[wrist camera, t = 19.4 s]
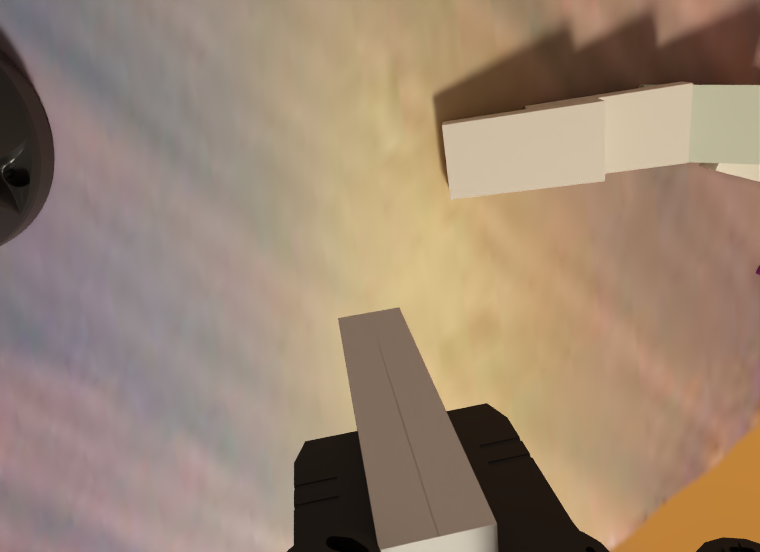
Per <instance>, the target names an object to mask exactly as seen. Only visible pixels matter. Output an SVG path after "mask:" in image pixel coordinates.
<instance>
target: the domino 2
mask: <svg viewBox="0 0 760 552" xmlns="http://www.w3.org/2000/svg"><path fill="white" fill-rule="evenodd" d="M692 93H693V83H689V82H682V81H681V82H675V83H669V84H662V85H656V86H650V87H643V88H637V89H630V90H624V91H618V92H611V93H605V94H599V95H592V96H586V97H579V98H573V99H567V100H560V101H554V102H548V103H541V104H535V105H528V106H525V109H531V108H537V107H544V106H551V105H557V104H564V103H570V102H577V101H584V100H590V99H597V98H599V99H601V100H604V101H605V173H613V172H620V171H628V170H636V169H644V168H652V167H659V166H667V165H675V164H683V163H688V159H689V143H690V126H691V110H692Z"/></svg>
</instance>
